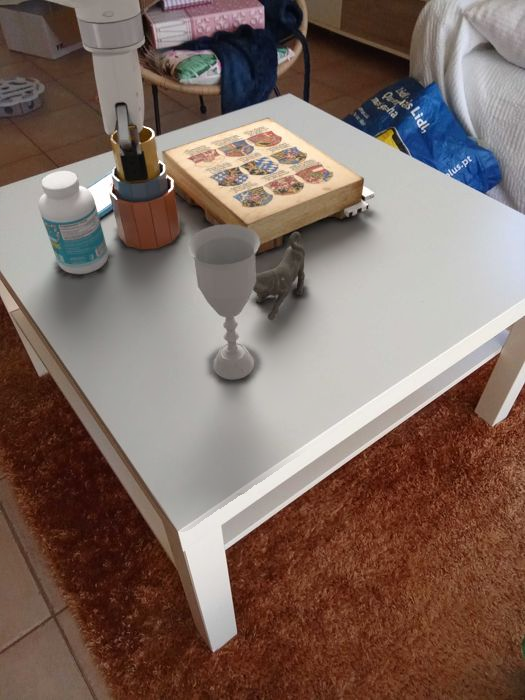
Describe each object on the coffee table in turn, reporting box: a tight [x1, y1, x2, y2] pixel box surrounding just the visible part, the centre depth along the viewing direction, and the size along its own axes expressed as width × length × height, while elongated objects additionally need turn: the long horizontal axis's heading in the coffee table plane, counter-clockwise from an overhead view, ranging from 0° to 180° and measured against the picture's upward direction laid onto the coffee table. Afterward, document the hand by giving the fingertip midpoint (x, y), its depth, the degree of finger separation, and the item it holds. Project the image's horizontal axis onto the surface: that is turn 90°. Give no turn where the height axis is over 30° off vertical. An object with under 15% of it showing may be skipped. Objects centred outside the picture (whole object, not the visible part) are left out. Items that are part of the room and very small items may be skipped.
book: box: [161, 117, 375, 255], centre depth 93 cm, size 25×6×28 cm
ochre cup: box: [109, 125, 161, 183], centre depth 82 cm, size 6×6×12 cm
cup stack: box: [109, 159, 181, 251], centre depth 86 cm, size 9×9×11 cm
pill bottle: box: [38, 170, 109, 275], centre depth 79 cm, size 8×7×14 cm
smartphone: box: [85, 170, 113, 220], centre depth 96 cm, size 8×1×15 cm
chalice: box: [187, 224, 260, 381], centre depth 63 cm, size 7×7×18 cm
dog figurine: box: [252, 231, 306, 322], centre depth 75 cm, size 12×6×7 cm, turn 150°
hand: (137, 166), depth 81 cm, fingers closed on ochre cup, 6 cm apart
